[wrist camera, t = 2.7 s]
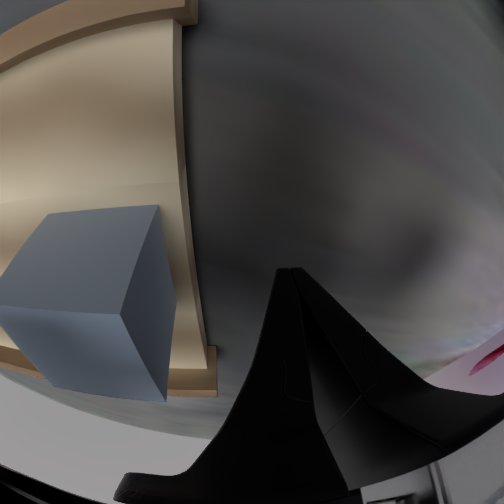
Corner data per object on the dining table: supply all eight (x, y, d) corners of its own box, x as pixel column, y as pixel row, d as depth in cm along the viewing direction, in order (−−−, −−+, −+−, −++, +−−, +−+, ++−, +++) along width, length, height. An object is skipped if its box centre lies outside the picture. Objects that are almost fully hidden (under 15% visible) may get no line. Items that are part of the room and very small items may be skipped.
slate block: (176, 301, 11) (166, 402, 8) (83, 300, 11) (54, 386, 7) (158, 204, 9) (119, 314, 5) (48, 214, 8) (-16, 303, 5)
